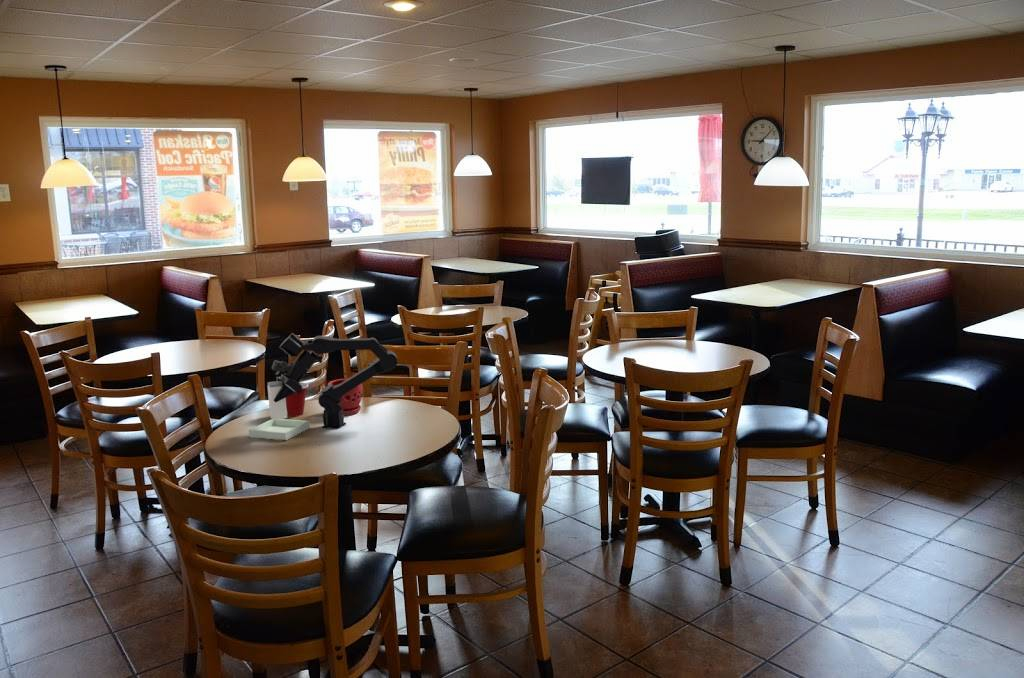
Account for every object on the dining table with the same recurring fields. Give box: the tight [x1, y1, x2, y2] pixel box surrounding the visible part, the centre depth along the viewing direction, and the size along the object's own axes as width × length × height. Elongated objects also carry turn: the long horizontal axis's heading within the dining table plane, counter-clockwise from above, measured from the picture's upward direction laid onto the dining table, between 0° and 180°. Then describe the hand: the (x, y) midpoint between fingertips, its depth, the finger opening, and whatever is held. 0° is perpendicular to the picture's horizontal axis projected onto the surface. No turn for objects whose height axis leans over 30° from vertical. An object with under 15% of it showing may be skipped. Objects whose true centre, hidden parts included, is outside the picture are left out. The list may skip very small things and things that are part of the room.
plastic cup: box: [286, 381, 309, 417], centre depth 319 cm, size 11×11×12 cm
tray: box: [248, 418, 311, 441], centre depth 296 cm, size 15×15×3 cm
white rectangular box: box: [267, 380, 288, 420], centre depth 293 cm, size 5×5×12 cm
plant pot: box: [327, 378, 363, 416], centre depth 319 cm, size 13×13×12 cm
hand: (273, 399), depth 293 cm, fingers closed on white rectangular box, 5 cm apart
